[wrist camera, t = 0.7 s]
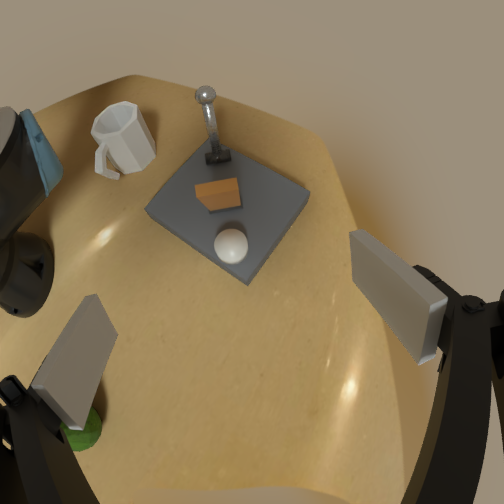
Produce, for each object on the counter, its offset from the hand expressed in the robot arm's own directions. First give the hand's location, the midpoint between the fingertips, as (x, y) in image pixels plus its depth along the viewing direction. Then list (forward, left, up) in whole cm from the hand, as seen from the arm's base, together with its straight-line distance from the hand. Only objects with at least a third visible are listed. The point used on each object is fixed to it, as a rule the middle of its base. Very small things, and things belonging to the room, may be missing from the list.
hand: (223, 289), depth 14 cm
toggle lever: (-17, +16, -20) cm, 31 cm away
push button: (-7, +6, -21) cm, 23 cm away
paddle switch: (-11, +11, -20) cm, 25 cm away
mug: (-32, +10, -24) cm, 41 cm away
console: (-12, +12, -24) cm, 29 cm away
